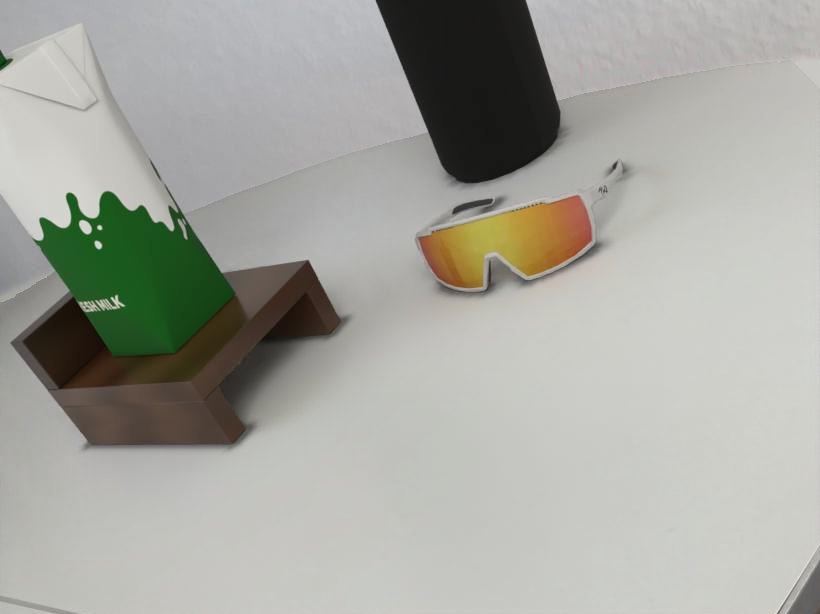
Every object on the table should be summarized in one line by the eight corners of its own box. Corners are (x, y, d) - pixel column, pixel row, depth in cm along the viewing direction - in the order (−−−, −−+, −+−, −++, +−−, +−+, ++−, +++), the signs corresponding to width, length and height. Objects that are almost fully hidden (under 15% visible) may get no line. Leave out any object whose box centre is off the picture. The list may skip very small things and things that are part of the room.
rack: (90, 444, 75) (9, 342, 69) (198, 335, 82) (133, 234, 76) (232, 444, 66) (153, 326, 60) (341, 321, 73) (280, 205, 67)
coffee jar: (510, 121, 89) (430, -112, 77) (591, 121, 81) (516, -138, 69) (424, 184, 86) (327, -47, 74) (499, 190, 78) (404, -66, 66)
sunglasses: (410, 312, 69) (382, 241, 66) (479, 233, 79) (458, 169, 76) (603, 268, 62) (582, 188, 59) (650, 189, 73) (634, 117, 70)
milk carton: (98, 366, 71) (-115, 77, 58) (176, 293, 75) (-5, 10, 62) (175, 362, 66) (-39, 44, 52) (254, 284, 70) (74, -27, 57)
